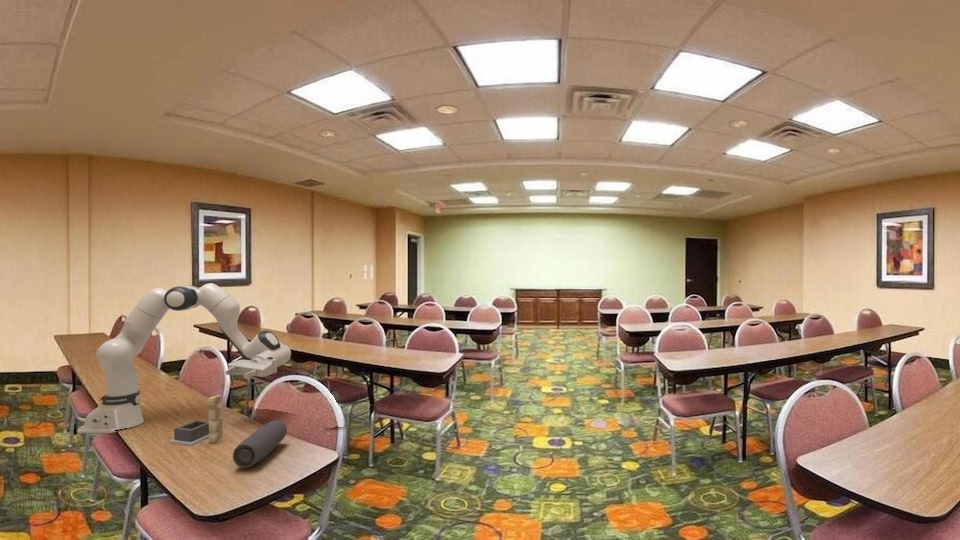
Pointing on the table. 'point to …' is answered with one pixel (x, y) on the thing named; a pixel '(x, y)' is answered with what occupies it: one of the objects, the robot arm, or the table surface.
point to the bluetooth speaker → (259, 444)
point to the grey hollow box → (191, 433)
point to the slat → (215, 419)
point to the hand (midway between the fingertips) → (235, 374)
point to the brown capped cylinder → (334, 394)
